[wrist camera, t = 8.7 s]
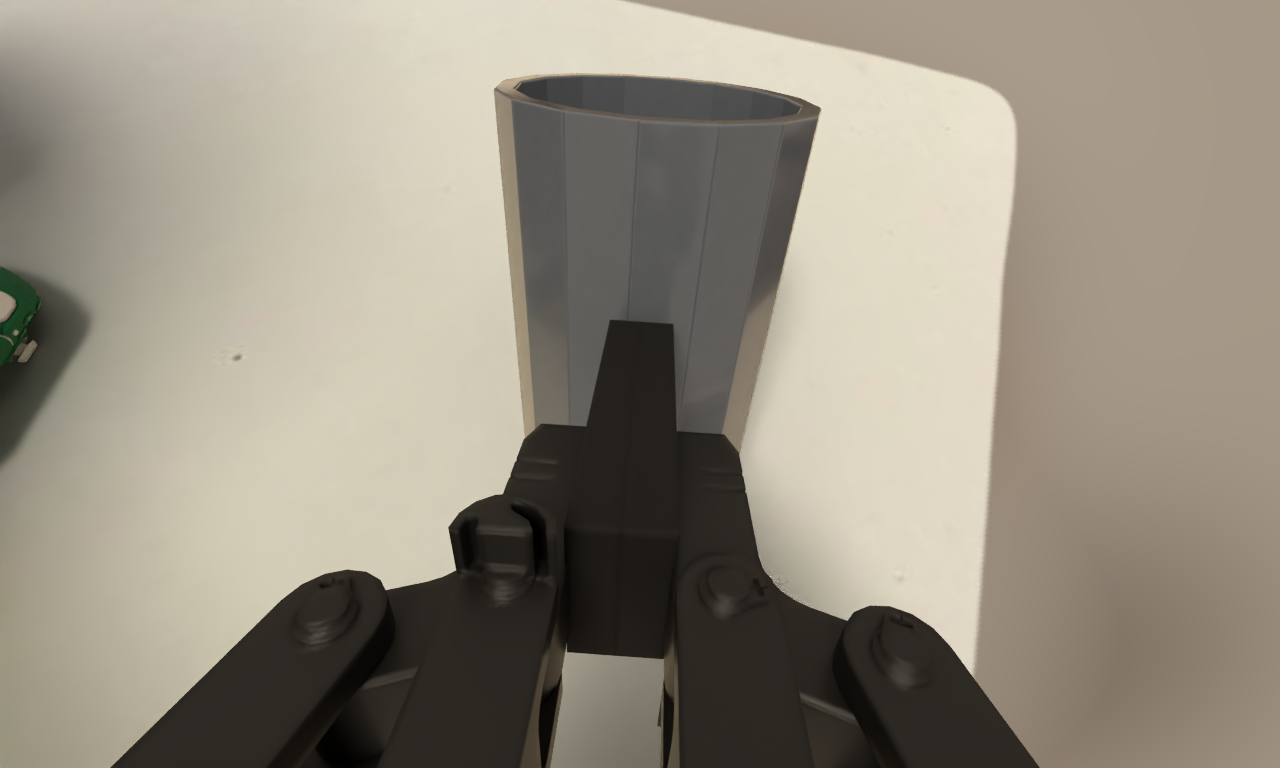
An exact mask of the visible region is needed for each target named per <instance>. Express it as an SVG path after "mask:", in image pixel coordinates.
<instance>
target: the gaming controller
mask: <svg viewBox="0 0 1280 768" xmlns="http://www.w3.org/2000/svg"><path fill="white" fill-rule="evenodd" d="M40 307H41V298H40V297H38V296H37V294H36V292H35V290H34V289H33V287H32V286H31V285H30V284H29V283H27V282H26V281H25V280H23V279H22V278H20V277H19V276H18V275H16V274H14V273H12V272H10V271H9V270H7V269H5V268H3V267H1V266H0V367H1V365H2V364H6V363H10V362H11V361H13V360H14V359H15V357H16V356H20V358H19V360H18V362H26V361H27V360H28V359H29V358H30V356H31V355H32V353H33V352H34V350H35V349H36V347H37V343H36V342H35V341H34V340H31V342H30V343H29V344H25V342H26V340H27V337H28V335H27V334H26V333H25V332H26V330H27V328H28V327H26V326H27V324H28V325H30V324H31V323H32V321H33V320H34V318H35V316H36V313H35V310H39V308H40Z"/></svg>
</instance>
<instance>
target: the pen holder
mask: <svg viewBox="0 0 1280 768" xmlns="http://www.w3.org/2000/svg"><path fill="white" fill-rule="evenodd" d="M494 97H495V108H496V119H497V130H498V142H499V153H500V164H501V175H502V186H503V197H504V208H505V219H506V231H507V242H508V253H509V264H510V275H511V286H512V297H513V309H514V320H515V331H516V342H517V353H518V364H519V375H520V386H521V398H522V409H523V420H524V431H525V438H526V437H527V436H528V435H529V434H530V433H531V432H532V431H533V430H534V429H536V428H537V427H538V426H539V425H540V424H541V423H543V424H557V425H572V426H586V425H587V420H588V416H589V411H590V407H591V402H592V398H593V393H594V389H595V384H596V380H597V375H598V371H599V367H600V362H601V358H602V353H603V349H604V344H605V340H606V335H607V331H608V326H609V322H610V320H624V321H638V322H653V323H668V324H673V326H674V358H675V389H676V421H677V431H683V432H698V433H712V434H725V436H726V437H727V438H728V439H729V441H730V442H731V443H732V444H733V446H734V447H735V448H736V450H737V451H738V452H739V453H740V449H741V445H742V441H743V437H744V433H745V429H746V424H747V420H748V416H749V412H750V408H751V403H752V399H753V395H754V391H755V387H756V382H757V378H758V374H759V370H760V366H761V361H762V357H763V353H764V349H765V345H766V340H767V336H768V332H769V328H770V324H771V319H772V315H773V311H774V307H775V303H776V298H777V294H778V290H779V286H780V282H781V277H782V273H783V269H784V265H785V261H786V256H787V252H788V248H789V244H790V240H791V235H792V231H793V227H794V223H795V219H796V214H797V210H798V206H799V202H800V198H801V193H802V189H803V185H804V181H805V177H806V172H807V168H808V164H809V160H810V156H811V151H812V147H813V143H814V139H815V135H816V130H817V126H818V122H819V118H820V114H821V108H820V107H818V106H816V105H813V104H811V103H809V102H807V101H805V100H803V99H801V98H797V97H793V96H789V95H785V94H781V93H777V92H773V91H768V90H763V89H758V88H752V87H745V86H739V85H733V84H727V83H719V82H711V81H702V80H692V79H683V78H674V77H673V78H671V77H660V76H645V75H629V74H591V73H576V74H575V73H568V74H545V75H531V76H525V77H519V78H513V79H507V80H504V81H502V82H501V83H500V84H499V85H498V86H497V87H495V88H494Z"/></svg>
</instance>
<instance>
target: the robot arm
mask: <svg viewBox="0 0 1280 768" xmlns="http://www.w3.org/2000/svg"><path fill="white" fill-rule="evenodd" d="M745 489H746V488H745V483H744V478H743V476H742V468H741V462H740V457H739V452H738V451H737V450H736V448H735V447H734V446H733V444H732V443H731V442H730V441H729V439H728V438H727V437H726V436H725V434H712V433H698V432H683V431H677V421H676V389H675V358H674V326H673V324H668V323H653V322H638V321H624V320H610V322H609V326H608V331H607V335H606V340H605V344H604V349H603V353H602V358H601V362H600V367H599V371H598V375H597V380H596V384H595V389H594V393H593V398H592V402H591V407H590V411H589V416H588V420H587V425H586V426H572V425H557V424H543V423H541V424H540V425H539V426H538V427H537V428H536V429H534V430H533V431H532V432H531V433H530V434H529V435H528V436H527V437H526V438H525V439H524V441H523V443H522V446H521V449H520V451H519V454H518V456H517V462H515V464H514V467H513V469H512V472H511V477H510V478H509V480H508V482H507V485H506V488H505V490H504V493H503V495H494V496H491V497H488V498H485V499H482V500H479V501H476V502H475V503H473V504H472V505H470V506H469V507H467V508H466V509H464V510H463V511H461V512H460V513H459V514H458V515H457V517H456V518H455V519H454V521H453V522H452V523H451V525H450V526H449V527H448V528H449V533H450V539H451V544H452V549H453V555H454V560H455V565H456V571H454V572H452V573H450V574H448V575H446V576H444V577H442V578H438V579H435V580H432V581H428V582H424V583H419V584H414V585H410V586H405V587H400V588H395V589H390V590H385V588H384V586H383V584H382V582H381V580H379V579H378V578H376V577H374V576H372V575H371V574H369V573H367V572H363V571H354V570H343V571H338V572H333V573H328V574H324V575H322V576H319V577H317V578H315V579H313V580H311V581H308V582H306V583H304V584H302V585H301V586H299V587H298V588H297V589H295V590H294V591H293V592H291V593H290V594H289V595H288V596H286V597H285V598H284V599H282V600H281V601H280V602H279V603H278V604H277V605H276V606H275V607H274V608H273V609H272V610H271V611H270V612H269V613H268V614H267V615H266V616H265V617H264V618H263V619H262V620H261V621H260V622H259V623H258V624H257V625H256V626H255V627H254V628H253V629H252V630H251V631H249V632H248V633H247V634H246V635H245V636H244V637H243V638H242V639H241V640H240V641H239V642H238V643H237V644H236V645H235V646H234V647H233V648H232V649H231V650H230V651H229V652H228V653H227V654H226V655H225V656H224V657H223V658H222V659H221V660H220V661H219V662H218V663H217V664H216V665H215V666H214V667H213V668H212V669H211V670H210V671H209V672H208V673H207V674H206V675H205V676H204V677H203V678H202V679H200V680H199V681H198V682H197V683H196V684H195V685H194V686H193V687H192V688H191V689H190V690H189V691H188V692H187V693H186V694H185V695H184V696H183V697H182V698H181V699H180V700H179V701H178V702H177V703H176V704H175V705H174V706H173V707H172V708H171V709H170V710H169V711H168V712H167V713H166V714H165V715H164V716H163V717H162V718H161V719H160V720H159V721H158V722H157V723H156V724H155V725H154V726H153V727H151V728H150V729H149V730H148V731H147V732H146V733H145V734H144V735H143V736H142V737H141V738H140V739H139V740H138V741H137V742H136V743H135V744H134V745H133V746H132V747H131V748H130V749H129V750H128V751H127V752H126V753H125V754H124V755H123V756H122V757H121V758H120V759H119V760H118V761H117V762H116V763H115V764H114V765H113V766H112V767H111V768H550V765H551V759H552V752H553V746H554V740H555V734H556V728H557V722H558V716H559V709H560V703H561V697H562V667H563V661H564V656H565V650H566V644H567V652H573V653H586V654H600V655H614V656H628V657H641V658H655V659H664V682H663V689H662V696H661V704H660V711H659V718H658V725H657V726H661V768H1039V766H1038V765H1037V764H1036V762H1035V761H1034V759H1033V758H1032V757H1031V755H1030V754H1029V753H1028V751H1027V750H1026V749H1025V747H1024V746H1023V745H1022V743H1021V742H1020V741H1019V739H1018V738H1017V736H1016V735H1015V734H1014V732H1013V731H1012V730H1011V728H1010V727H1009V726H1008V724H1007V723H1006V721H1005V720H1004V719H1003V717H1002V716H1001V715H1000V713H999V712H998V711H997V709H996V708H995V706H994V705H993V704H992V702H991V701H990V700H989V698H988V697H987V696H986V694H985V693H984V692H983V690H982V689H981V688H980V686H979V685H978V683H977V682H976V681H975V679H974V678H973V677H972V675H971V674H970V673H969V671H968V670H967V668H966V667H965V666H964V664H963V663H962V662H961V660H960V659H959V658H958V656H957V655H956V654H955V652H954V651H953V649H952V648H951V647H950V646H949V645H948V643H947V642H946V641H945V640H944V639H943V638H942V637H941V636H940V635H939V634H938V633H937V632H936V631H935V630H934V629H933V628H932V627H931V626H929V625H928V624H926V623H924V622H923V621H921V620H920V619H918V618H917V617H915V616H914V615H912V614H910V613H907V612H904V611H901V610H898V609H896V608H893V607H890V606H868V607H866V608H863V609H860V610H858V611H855V612H854V613H853V614H852V616H851V617H850V618H849V620H848V621H846V620H843V619H840V618H838V617H835V616H832V615H829V614H827V613H824V612H821V611H818V610H815V609H813V608H810V607H808V606H806V605H803V604H801V603H799V602H797V601H795V600H793V599H792V598H790V597H789V596H787V595H786V594H785V593H783V592H782V591H780V590H779V589H778V588H777V587H776V586H775V584H774V583H773V581H772V579H771V578H770V577H769V576H768V575H767V574H766V573H765V571H764V570H763V568H762V565H761V562H760V559H759V556H758V551H757V546H756V541H755V535H754V530H753V525H752V520H751V515H750V509H749V504H748V499H747V494H746V493H745Z"/></svg>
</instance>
